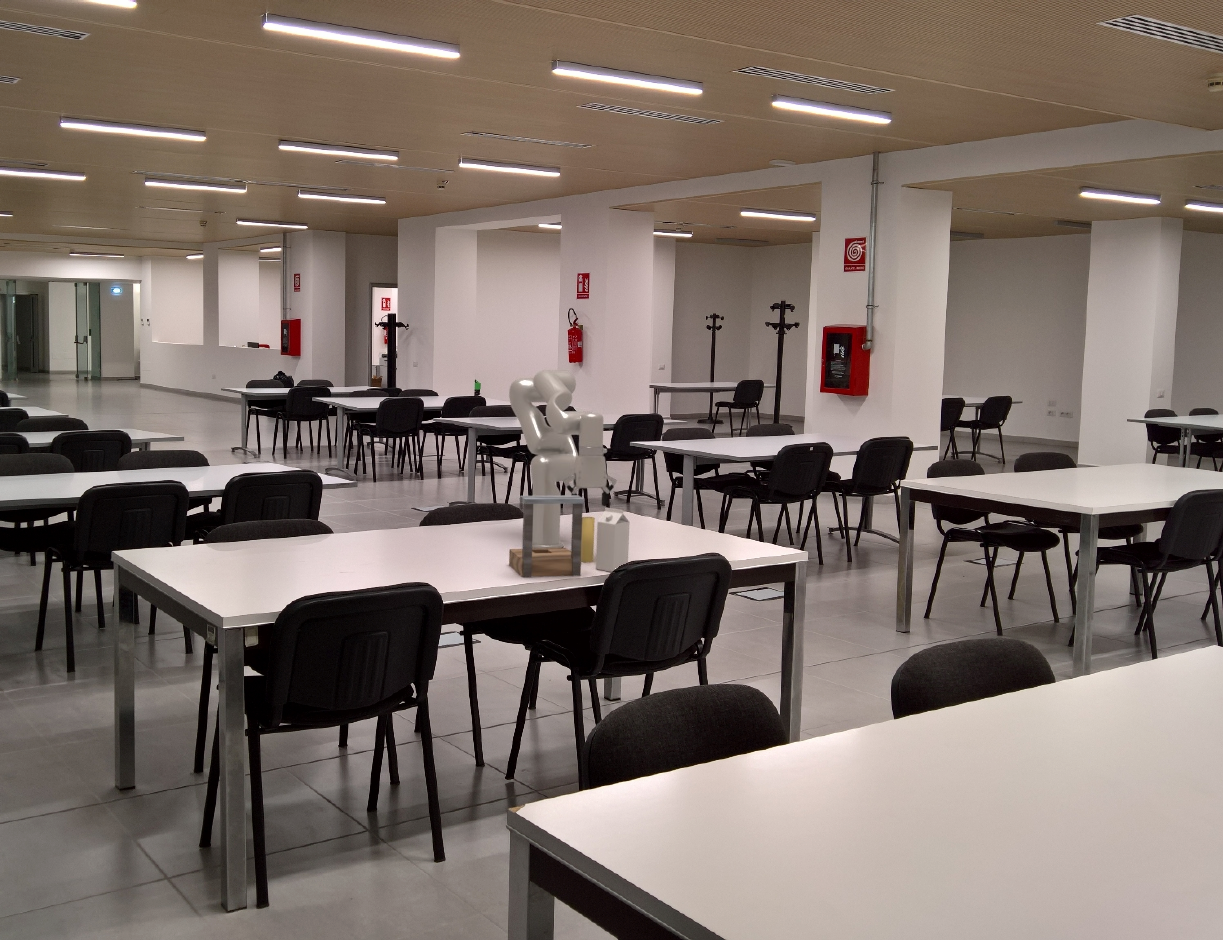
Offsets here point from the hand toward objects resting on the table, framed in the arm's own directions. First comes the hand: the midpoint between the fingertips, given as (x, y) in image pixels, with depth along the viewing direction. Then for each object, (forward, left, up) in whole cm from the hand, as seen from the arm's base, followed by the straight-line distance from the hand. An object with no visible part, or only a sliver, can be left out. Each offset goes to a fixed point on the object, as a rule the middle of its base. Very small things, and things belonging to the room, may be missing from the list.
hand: (589, 505), depth 356 cm
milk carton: (+13, +4, -18) cm, 23 cm away
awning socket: (+11, -17, -18) cm, 27 cm away
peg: (-1, 0, -18) cm, 18 cm away
